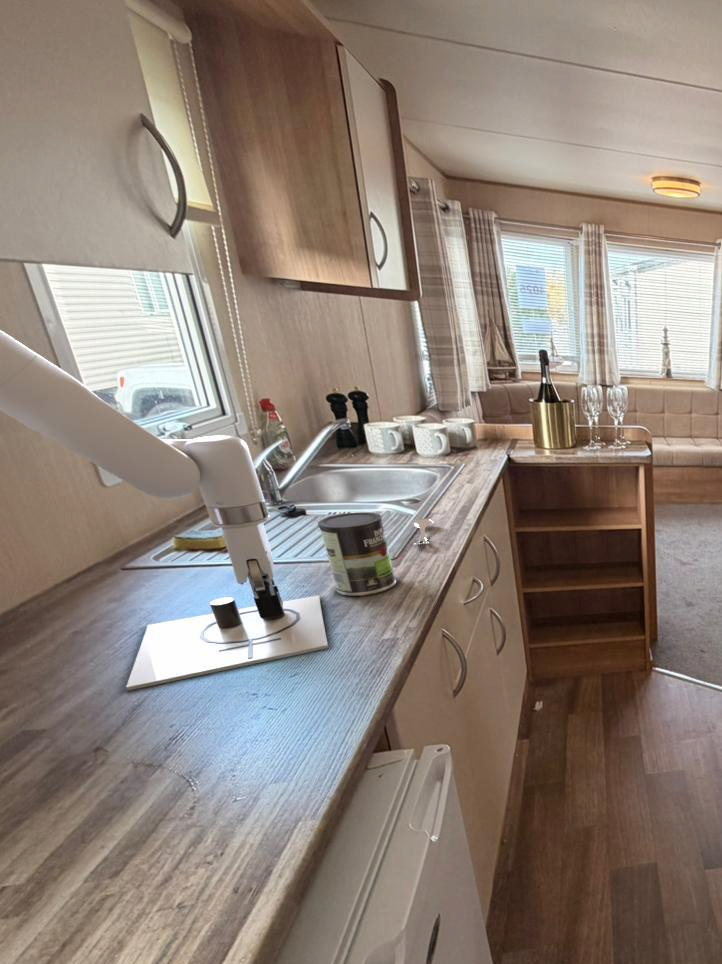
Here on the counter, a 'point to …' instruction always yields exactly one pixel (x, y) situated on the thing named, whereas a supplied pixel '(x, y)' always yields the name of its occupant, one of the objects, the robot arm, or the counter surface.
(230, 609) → the dot
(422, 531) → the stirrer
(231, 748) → the counter surface
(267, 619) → the dot
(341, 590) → the coffee can
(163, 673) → the board
